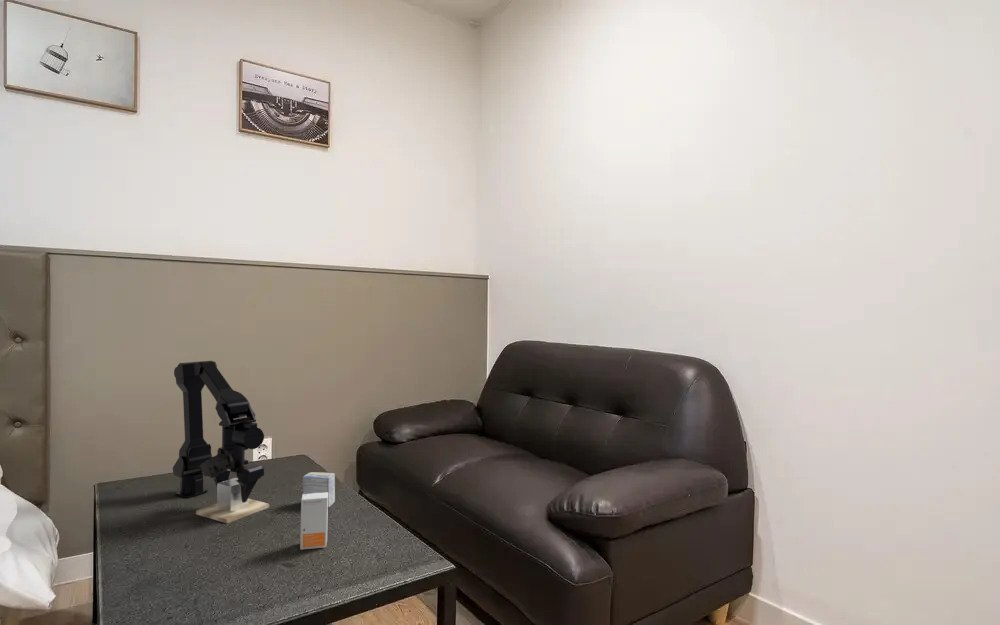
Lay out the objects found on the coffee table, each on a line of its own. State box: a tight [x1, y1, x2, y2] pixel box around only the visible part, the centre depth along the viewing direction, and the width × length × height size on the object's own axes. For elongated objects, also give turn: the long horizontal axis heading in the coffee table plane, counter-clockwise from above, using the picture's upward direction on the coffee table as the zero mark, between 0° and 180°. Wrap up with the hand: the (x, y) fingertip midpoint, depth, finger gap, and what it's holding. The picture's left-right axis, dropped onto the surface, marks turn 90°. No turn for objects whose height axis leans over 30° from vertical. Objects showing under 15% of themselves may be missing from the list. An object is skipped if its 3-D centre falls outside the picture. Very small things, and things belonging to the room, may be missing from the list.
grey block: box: [216, 477, 250, 512], centre depth 150 cm, size 6×6×7 cm
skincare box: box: [299, 492, 329, 551], centre depth 129 cm, size 6×4×12 cm
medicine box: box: [302, 471, 336, 508], centre depth 156 cm, size 8×4×9 cm, turn 84°
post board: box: [195, 498, 270, 524], centre depth 150 cm, size 13×13×5 cm
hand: (233, 499), depth 150 cm, fingers open, 9 cm apart
